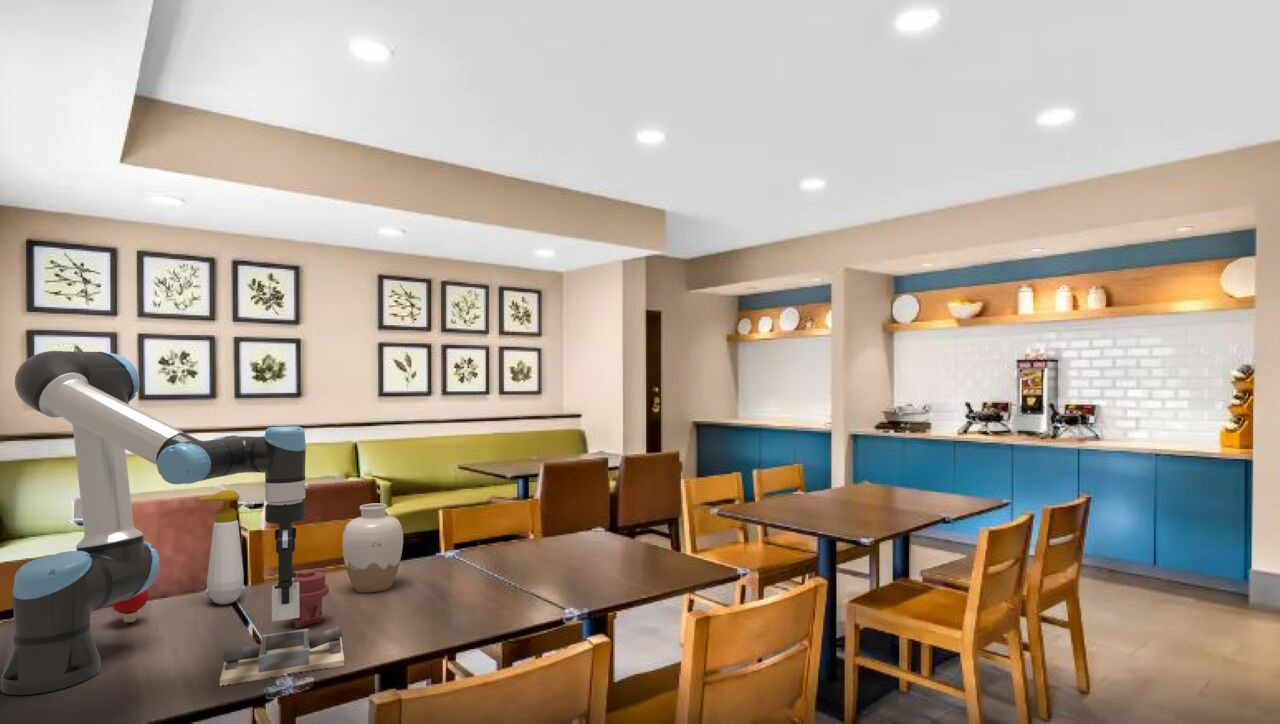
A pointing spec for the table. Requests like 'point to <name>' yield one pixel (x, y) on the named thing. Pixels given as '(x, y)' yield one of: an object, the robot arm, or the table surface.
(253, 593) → the table surface
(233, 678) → the shaft bench
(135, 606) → the red mushroom
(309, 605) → the mechanical component
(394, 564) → the vase
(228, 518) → the soap bottle
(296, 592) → the block
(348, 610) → the table surface
